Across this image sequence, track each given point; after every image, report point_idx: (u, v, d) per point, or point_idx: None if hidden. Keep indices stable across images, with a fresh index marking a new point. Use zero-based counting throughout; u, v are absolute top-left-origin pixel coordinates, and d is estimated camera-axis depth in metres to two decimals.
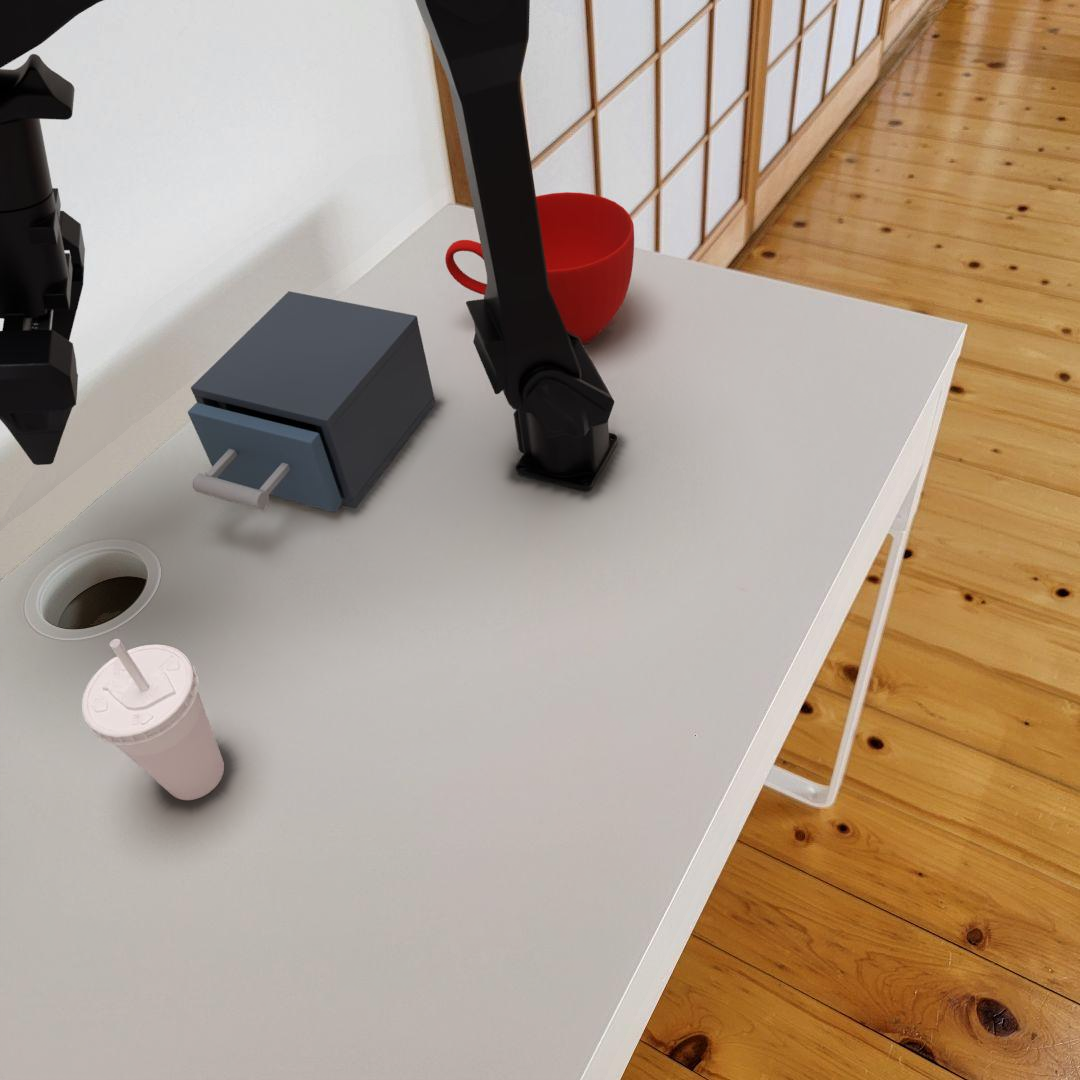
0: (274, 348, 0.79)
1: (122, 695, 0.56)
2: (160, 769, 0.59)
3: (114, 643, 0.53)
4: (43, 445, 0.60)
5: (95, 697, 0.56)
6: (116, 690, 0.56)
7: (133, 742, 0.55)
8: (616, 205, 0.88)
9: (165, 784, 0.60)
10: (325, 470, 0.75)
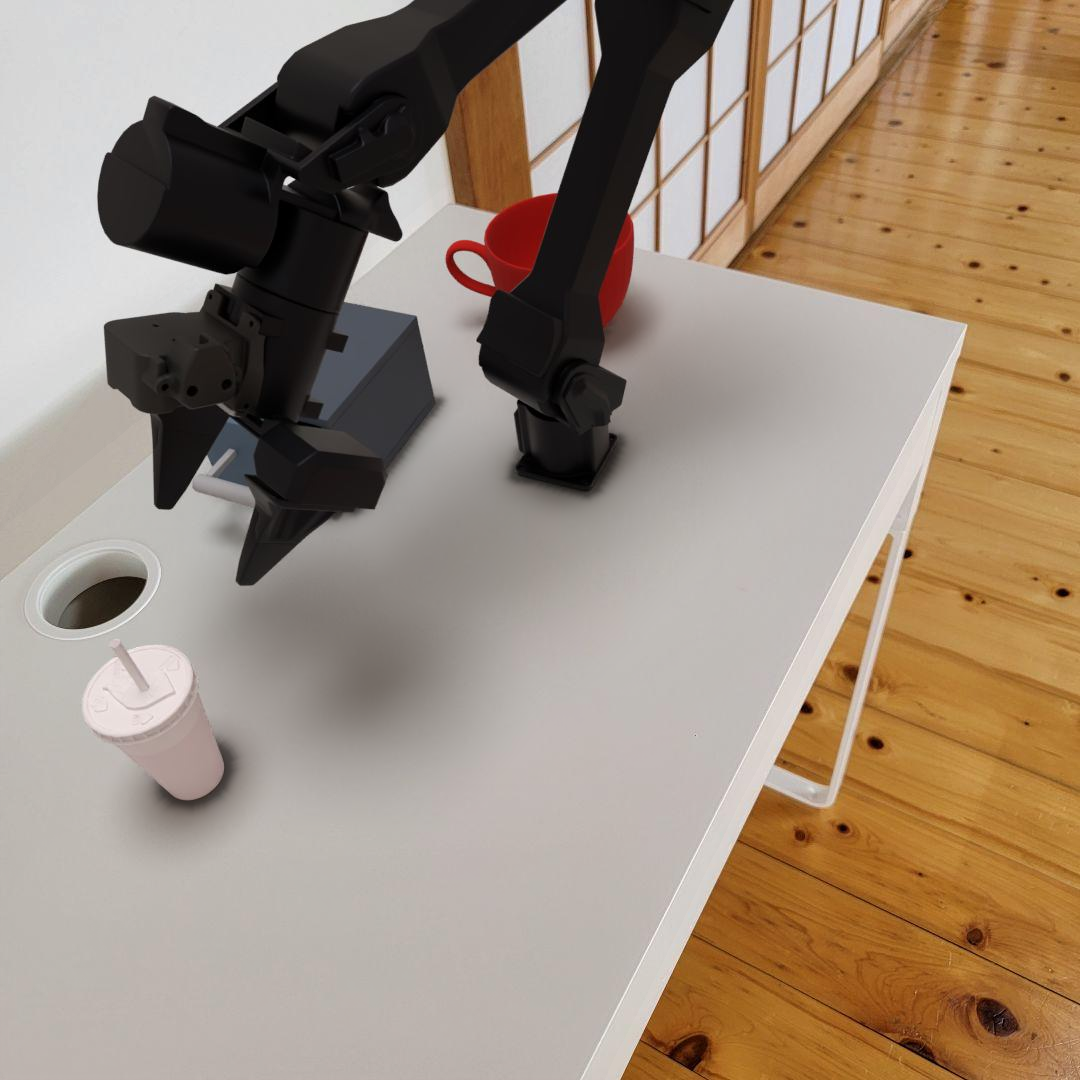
0: None
1: (122, 695, 0.56)
2: (160, 769, 0.59)
3: (114, 643, 0.53)
4: (268, 560, 0.55)
5: (95, 697, 0.56)
6: (116, 690, 0.56)
7: (133, 742, 0.55)
8: None
9: (165, 784, 0.60)
10: None
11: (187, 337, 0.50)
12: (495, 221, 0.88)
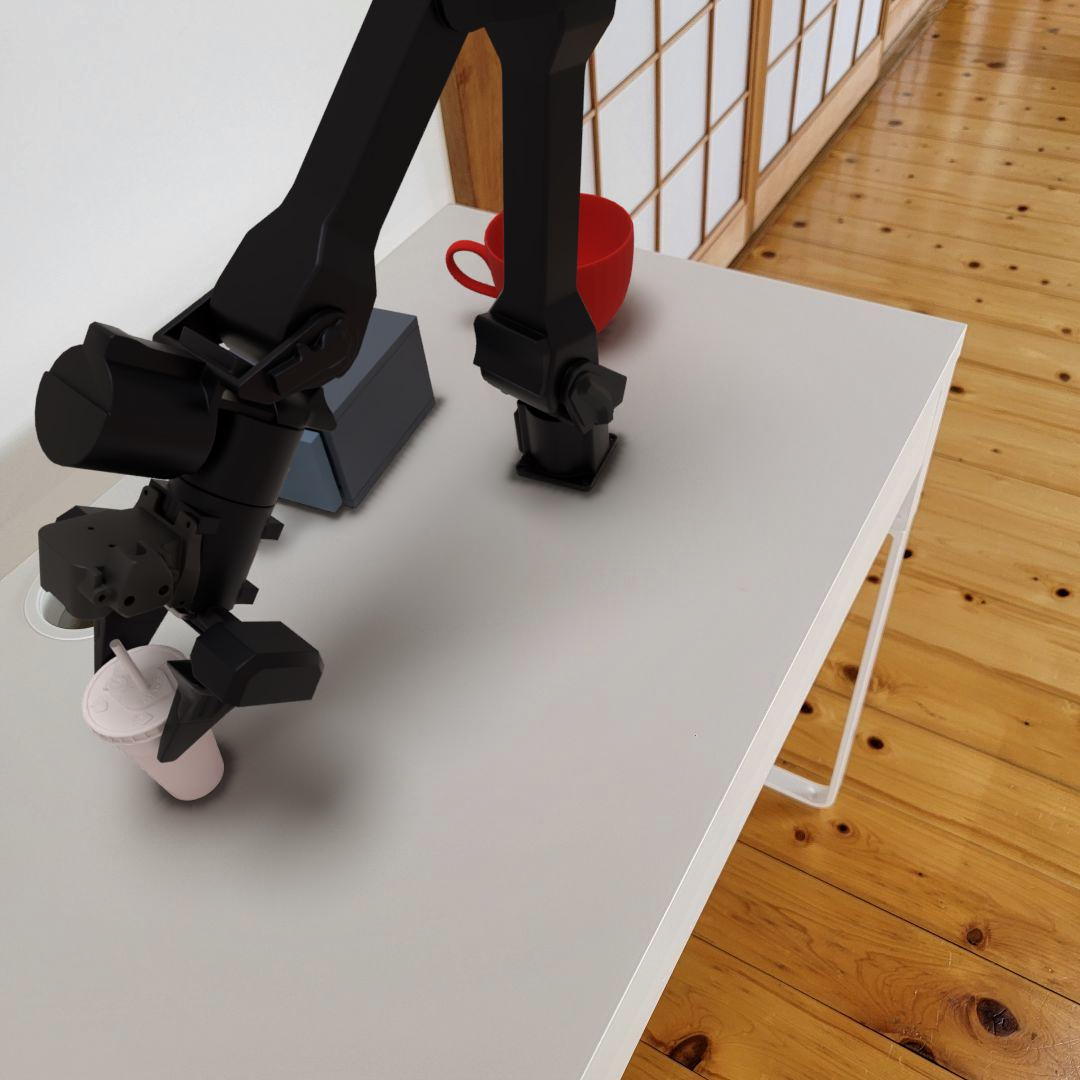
0: None
1: (122, 695, 0.56)
2: (160, 770, 0.59)
3: (114, 644, 0.53)
4: (190, 737, 0.56)
5: (95, 697, 0.56)
6: (116, 690, 0.56)
7: (133, 742, 0.55)
8: (616, 205, 0.88)
9: (165, 784, 0.60)
10: (325, 470, 0.75)
11: (123, 541, 0.50)
12: (495, 221, 0.88)
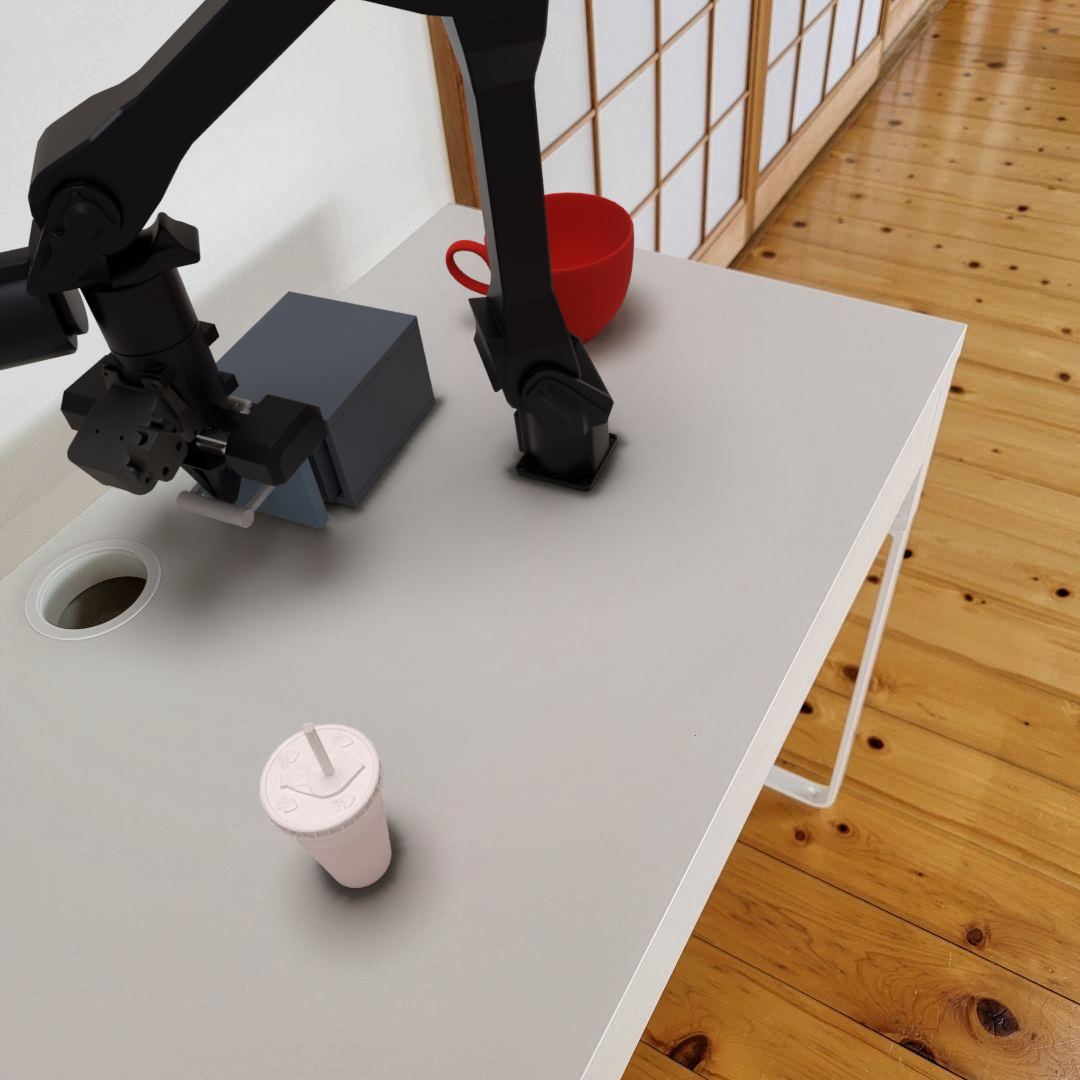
0: (274, 348, 0.79)
1: (308, 786, 0.51)
2: (353, 857, 0.54)
3: (306, 729, 0.49)
4: (235, 483, 0.73)
5: (276, 798, 0.51)
6: (298, 784, 0.51)
7: (341, 830, 0.50)
8: (616, 205, 0.88)
9: (350, 874, 0.55)
10: (311, 486, 0.74)
11: (125, 428, 0.62)
12: None
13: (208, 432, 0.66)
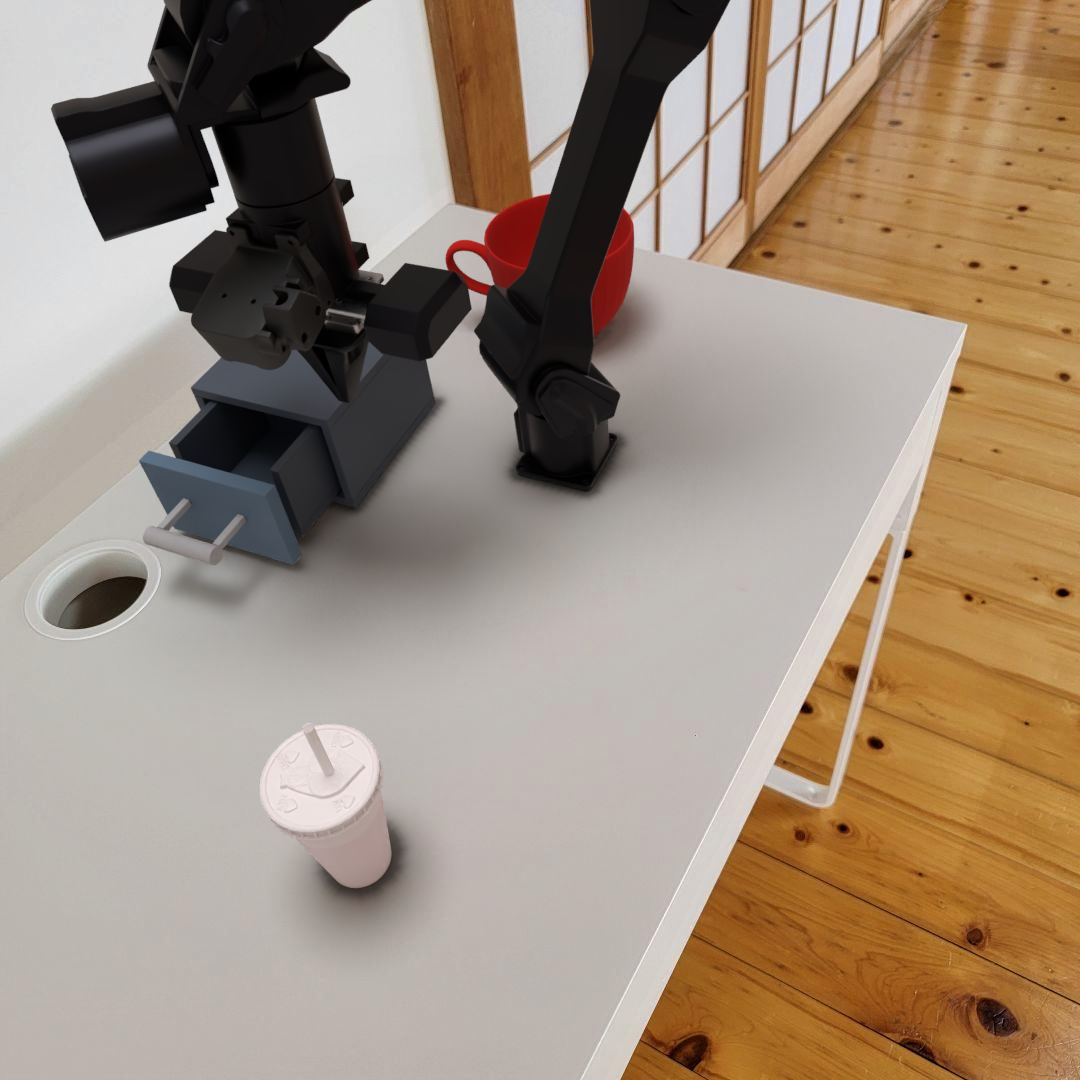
0: None
1: (308, 786, 0.51)
2: (353, 857, 0.54)
3: (306, 729, 0.49)
4: (356, 374, 0.66)
5: (276, 798, 0.51)
6: (298, 784, 0.51)
7: (341, 830, 0.50)
8: None
9: (350, 874, 0.55)
10: (282, 522, 0.71)
11: (256, 290, 0.55)
12: (495, 221, 0.88)
13: (340, 305, 0.59)
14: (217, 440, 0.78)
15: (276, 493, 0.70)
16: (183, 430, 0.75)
